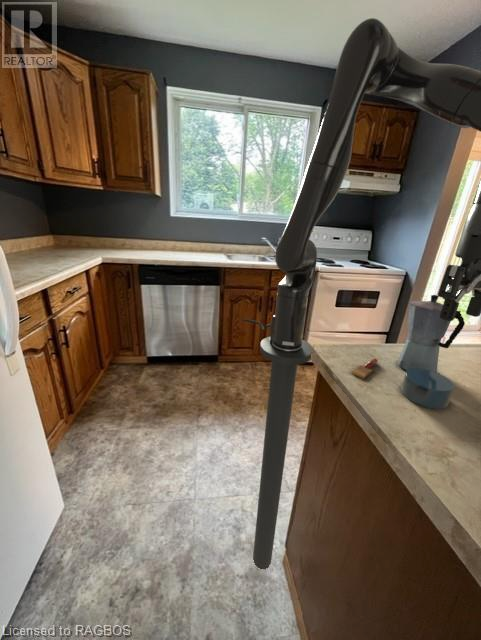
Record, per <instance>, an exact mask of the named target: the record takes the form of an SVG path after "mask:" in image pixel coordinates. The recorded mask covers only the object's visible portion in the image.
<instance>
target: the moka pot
mask: <svg viewBox="0 0 481 640" xmlns="http://www.w3.org/2000/svg"><path fill="white" fill-rule="evenodd" d="M438 299H439V297H438V294H432V295H431V294H430V300H411V301H410V303H409V307H408V317H407V318H408V319H407V328H406V329H407V338H406V340H405V342H404V345H403V348H402V350H401V353H400V354H399V357H398V360H397V365H398V367H400V368H401V369H403V370H405V371H407V370H408V369H412V368H419V369H425V370H429V371H430V370H432V371H435V372H438V365H439V354H440V348H444V349H449V347H450V346H451V345H452V343H453V342H454V341H455V340H456V338H457V336H458V335H459V334H460V333H461V331H463V329H464V326H465V324H466V322H465V319H464V317H463V316H462V313H461V310H457V312H456V315H455V318H454V319H456V320H457V321H458V323H457V325H456V327H454V330H453V331H452V333H450V335H449V337H448V339H447V340H446V341H445V342H444V343H443V342H442V339H443V338H445V336H446V333H447V331H448V329H449V326H450V324H451V322H452V321H447V320H444V319H441V318H440V314H441V310H442V307H443V304H444V303H440V302H439V301H438V302H437V300H438Z"/></svg>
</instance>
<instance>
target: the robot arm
mask: <svg viewBox="0 0 481 640" xmlns="http://www.w3.org/2000/svg"><path fill="white" fill-rule="evenodd" d="M333 78H334V79H333V83H332V87H331V91H330V94H329V99H328V102H327V106H326V109H325V113H324V116H323V119H322V122H321V124H320V125H321V126H320V127H319V132H318V135H317V138H316V141H315V144H314V147H313V150H312V153H311V155H310V157H309V161H308V164H307V166H306V169H305V172H304V176H303V179H302V182H301V185H300V189H299V191H298V194H297V197H296V199H295V203H294V205H293V209H292V211H291V214H290V217H289V219H288V221H287V224H286V227H285V228H284V231H283V233H282V235H281V237H280V239H279V242H278V244H277V246H276V247H277V248H276V250H275V255H274V256H275V257H274V258H275V264H276V267H277V268H278V269H279V270H280V271H281V272H283V273H285V275H284V278H283V279H282V280H281V281H280V282H279V283H278V284H277V288H276V289H277V290H276V300H275V311H274V315H272V317H271V322H270V324H266V325H263V323H261V322H260V321H257V320H254V319H253V320H252V319H247V318H242V320H241V321H243V322H247V323H253V324H257V325H259V326H260V327H261V330H262V331H267V329H268V328H269V332H270V336H269V337H270V344H272V346H273V347H274V348H275V349H277V350H279V351H283V352H297V351H299V350H301V347H302V340H303V338H304V330H305V322H306V315H307V308H308V301H309V293H310V290H311V288H312V286H313V283H314V277H315V272H316V268H317V261H318V251H317V247H316V245H315V243H314V242H313V241H312V240H311V235H312V232H313V230H314V228H315V226H316V224H317V223H318V221H319V220H320V218H321V217H322V215H323V214H324V213H325V212H326V211H327V209H328V208H329V207H330V205H331V204H332V203H333V201H334V200H335V198H336V196H337V195H338V193H339V191H340V189H341V187H342V184H343V181H344V179H345V177H346V174H347V172H348V169H349V166H350V163H351V159H352V152H353V143H354V132H355V127H356V126H355V125H356V120H357V116H358V113H359V109H360V106H361V103H362V101H363V98H364V96H365V94H367V95H373V96H377V97H384V98H389V99H393V100H397V101H401V102H404V103H406V104H407V105H411V106H413V107H415V108H416V109H419V110H421V111H422V112H425V113H428V114H429V115H431V116H434V117H436V118H438V119H440V120H442V121H444V122H447V123H449V124H452V125H454V126H456V127H460V128H462V129H473V130H476V131H478V132H481V70H477V69H475V68H471V67H469V66H465V65H461V64H454V63H433V62H426V61H423V60H420V59H417V58H415V57H413V56H412V55H410V54H408V53H407V52H406V51H404V50H403V49H401V48H400V47H399V45H397V42H396V39H395V38H394V37H393V35H392V34H391V32H390V31H389V29H388V28H387V26H386V25H385V24H384V23H383V22H382V21H381V20H379V18H374V17H371V18H366V19H365V20H363V21H361V22H360V23H359V24H358V25H357V26H356V27H355V28H354V29H353V30H352V32H351V33H350V35H349V36H348V38H347V40H346V42H345V43H344V46H343V48H342V50H341V53H340V56H339V60H338V63H337V67H336V70H335V75H334V77H333ZM454 255H455V257H457V258H459V259H461V261H460V263H459V264H458V265H455V264H448V265H447V266H446V267H445V268H446V269H445V271H444V273H443V274H444V275H443V277H442V280H441V283H440V286H439V289H438V291H437V296H438V298H442V300H444V301H443V303H442V304H443V307H442V310H441V314H440V318H441V319H444V320H447V321H451V322H453V321H454V320H455V319H456V318H455V315H456V312H457V311H458V309H459V306H460V301H461V300H462V299H463V298H464V296H465V295H467V294H470V293H471V297H470V299H469V302H468V305H467V308H466V311H465V313H466V315H468V316H471V317H475V318H477V317H480V316H481V179H480V180H479V182H478V185H477V188H476V191H475V195H474V198H473V200H472V205H471V207H470V209H469V211H468V213H467V216H466V218H465V221H464V224H463V228H462V230H461V234H460V237H459V240H458V243H457V247H456V250H455V253H454Z"/></svg>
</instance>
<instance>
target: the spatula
mask: <svg viewBox="0 0 481 640" xmlns="http://www.w3.org/2000/svg"><path fill="white" fill-rule="evenodd" d="M377 363H378V359H377V358H375V357H374V358H372V359H371V360H370V361H368V362H367V363H366V364H364V365H362V364H361V365H359V366H357V368H355V369H354V370H352V371H351V373H352V375H354V376H356V377H359V378H361V379H365V378H366V377H368V376H369V375H370V374H371V373H372V372H373V369H372V367H374V366H375V365H376V364H377Z"/></svg>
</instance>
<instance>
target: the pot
mask: <svg viewBox="0 0 481 640" xmlns="http://www.w3.org/2000/svg"><path fill="white" fill-rule="evenodd" d="M454 389H455V384H454V383H453V382H452V381H451V379H450V378H448V377H446V376H445V375H443V374H441V372H438V371H437V372H435V371H432V370H430V371H429V370H425V369H419V368H412V369H408V370H405V372H404V376H403V380H402V383H401V386H400V392H401V394H402V395H403V397H405V398H406V399H408V400H409V401H411V402H412V403H414V404H416V405H418V406H421V407H424V408H429V409H434V410H443V409H445V408H447V407H448V406H449V403H450V400H451V397H452V395H453V394H454V393H453V392H454Z"/></svg>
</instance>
